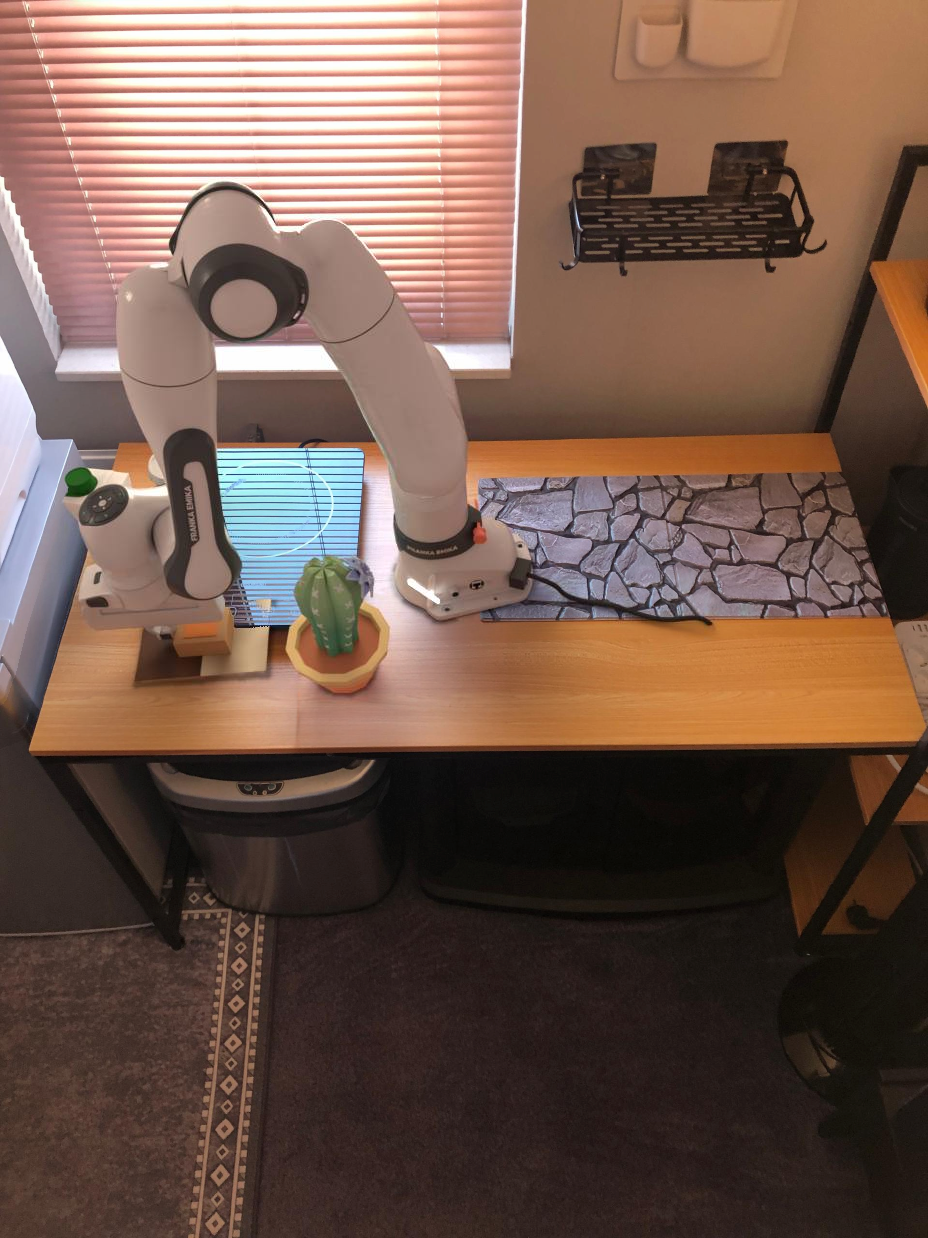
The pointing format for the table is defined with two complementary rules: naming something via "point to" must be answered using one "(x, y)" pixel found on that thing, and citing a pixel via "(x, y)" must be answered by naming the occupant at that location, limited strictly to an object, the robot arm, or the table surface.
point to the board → (165, 662)
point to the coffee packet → (205, 637)
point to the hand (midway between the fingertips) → (168, 636)
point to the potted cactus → (337, 625)
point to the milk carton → (89, 485)
